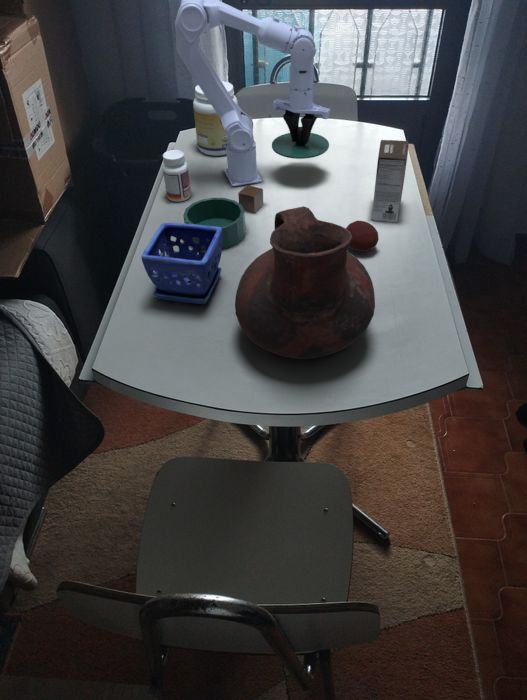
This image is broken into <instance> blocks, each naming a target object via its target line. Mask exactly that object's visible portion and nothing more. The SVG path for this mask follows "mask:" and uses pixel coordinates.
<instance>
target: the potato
mask: <svg viewBox="0 0 527 700" xmlns="http://www.w3.org/2000/svg"><path fill="white" fill-rule="evenodd" d="M346 229H347V230H348V231H350V233H351V235H352V239H351V242H350V245H349V247H348V249H351V250H353V251H358V252H368V251H371V250H373V249H375V247H376V246H377V244H378V242H379V240H380V239H379V232H378V230H377V229H376V227H375V226H374V225H373V224H371V223H370V222H368V221H365V220H355V221H353V222H351V223H348V225H347V226H346Z"/></svg>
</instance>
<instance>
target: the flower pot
mask: <svg viewBox="0 0 527 700" xmlns="http://www.w3.org/2000/svg"><path fill="white" fill-rule="evenodd" d="M172 237H173V238H175V241H174V240H172ZM193 237H198V238H199V242H198V243H196V242H194V241H193ZM207 239H209V240H207ZM182 241H183V242H182ZM222 245H223V231H222V228H221V227H214V226H206V225H196V224H185V223H184V222H183V223H181V222H162V223H161V224H160V225H159V226H158V228H157V229H156V231H155V232H154V234H153V235H152V237H151V238H150V241H149V242H148V243H147V246H146V247H145V249H143V252H142V254H141V263H142V265H143V267H144V270H145V272H146V274H147V276H148V278H149V280H150V281H151V282H152V284H153V285H154V286H155V287H156V288H155V289H154V291H153V294H152V295H153V296H154V297H155V298H156V299H159V300H162V301H163V300H164V301H173V302H180V303H185V304H186V303H188V304H196V305H205V304H206V303H207V302H208V300H209V299H210V296H211V295H212V292H213V290H214V289H215V286H216V284H217V282H218V280H219V277H220V275H221V273H222V267H220V262H221V258H222V257H221V256H222V252H223V249H222ZM201 246H205V247H206V250H204V249H202V248H201ZM174 247H178V250H177V251H176V250H174ZM190 247H191V248H192V249H189V248H190Z"/></svg>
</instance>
